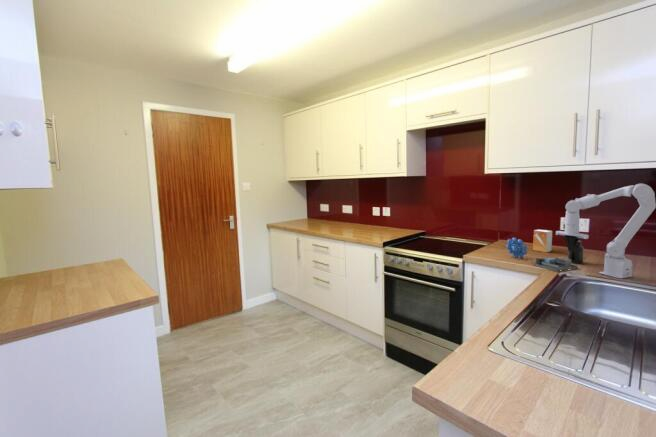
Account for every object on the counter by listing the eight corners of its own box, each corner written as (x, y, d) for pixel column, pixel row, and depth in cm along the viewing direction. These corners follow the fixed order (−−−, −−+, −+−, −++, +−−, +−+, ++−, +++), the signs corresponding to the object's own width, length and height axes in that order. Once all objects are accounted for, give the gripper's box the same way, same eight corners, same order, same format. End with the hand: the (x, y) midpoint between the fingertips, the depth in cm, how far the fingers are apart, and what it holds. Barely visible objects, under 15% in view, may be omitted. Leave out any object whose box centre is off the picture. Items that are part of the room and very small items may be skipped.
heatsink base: (577, 268, 163) (578, 260, 162) (556, 271, 159) (557, 263, 159) (552, 262, 176) (552, 254, 176) (532, 264, 173) (532, 257, 172)
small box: (532, 250, 204) (533, 230, 202) (538, 248, 207) (539, 229, 205) (546, 252, 197) (547, 231, 195) (551, 251, 200) (552, 230, 198)
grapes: (502, 257, 190) (503, 237, 189) (507, 255, 195) (507, 236, 193) (524, 260, 181) (525, 240, 180) (528, 258, 186) (529, 238, 184)
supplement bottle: (579, 260, 176) (580, 239, 175) (585, 264, 170) (587, 242, 168) (565, 260, 178) (566, 239, 177) (570, 263, 172) (571, 242, 170)
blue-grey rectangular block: (555, 264, 167) (556, 258, 167) (549, 265, 166) (549, 259, 166) (543, 261, 174) (544, 256, 173) (537, 262, 173) (537, 256, 172)
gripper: (593, 225, 154) (591, 252, 156) (563, 222, 168) (561, 247, 169) (583, 226, 152) (582, 254, 153) (553, 223, 165) (552, 248, 167)
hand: (570, 250), depth 161 cm, fingers closed
